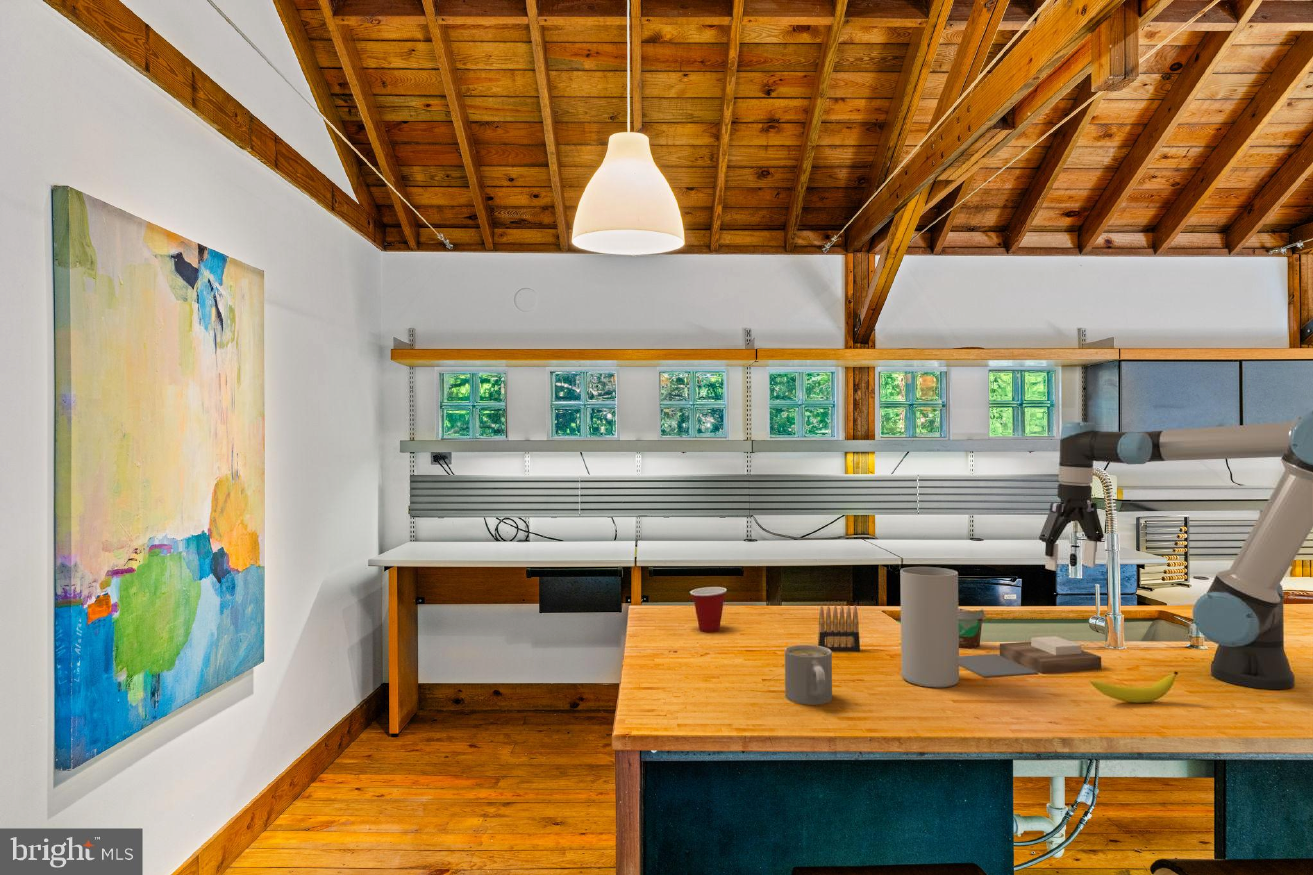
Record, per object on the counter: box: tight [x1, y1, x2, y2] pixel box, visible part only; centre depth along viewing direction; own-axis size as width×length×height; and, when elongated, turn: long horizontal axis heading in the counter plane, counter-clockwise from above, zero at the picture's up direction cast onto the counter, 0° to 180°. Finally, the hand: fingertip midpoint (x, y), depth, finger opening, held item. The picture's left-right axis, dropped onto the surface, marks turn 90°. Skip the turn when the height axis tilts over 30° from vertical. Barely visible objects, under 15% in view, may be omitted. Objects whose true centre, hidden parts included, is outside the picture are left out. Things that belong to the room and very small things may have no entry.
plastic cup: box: [689, 586, 727, 633], centre depth 227 cm, size 11×11×12 cm
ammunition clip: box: [817, 604, 861, 653], centre depth 203 cm, size 11×2×12 cm, turn 88°
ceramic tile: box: [1030, 635, 1082, 655], centre depth 191 cm, size 9×7×2 cm
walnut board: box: [999, 641, 1102, 675], centre depth 191 cm, size 16×16×3 cm
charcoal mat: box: [959, 653, 1039, 679], centre depth 188 cm, size 16×14×1 cm
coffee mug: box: [784, 644, 833, 706], centre depth 165 cm, size 13×10×10 cm
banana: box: [1089, 671, 1179, 704], centre depth 161 cm, size 3×19×6 cm, turn 93°
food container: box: [958, 608, 986, 650], centre depth 206 cm, size 12×6×10 cm, turn 62°
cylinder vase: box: [899, 566, 960, 689], centre depth 178 cm, size 12×12×25 cm
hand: (1070, 568), depth 194 cm, fingers open, 13 cm apart
